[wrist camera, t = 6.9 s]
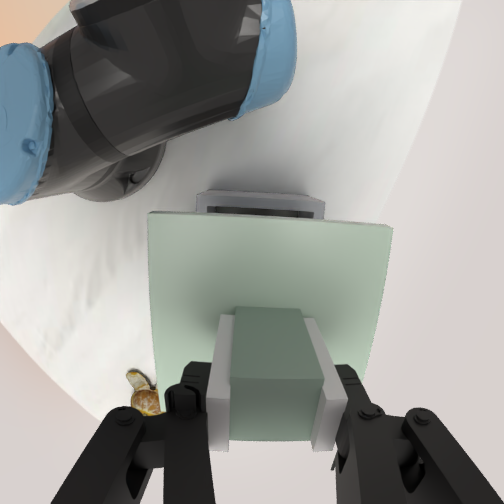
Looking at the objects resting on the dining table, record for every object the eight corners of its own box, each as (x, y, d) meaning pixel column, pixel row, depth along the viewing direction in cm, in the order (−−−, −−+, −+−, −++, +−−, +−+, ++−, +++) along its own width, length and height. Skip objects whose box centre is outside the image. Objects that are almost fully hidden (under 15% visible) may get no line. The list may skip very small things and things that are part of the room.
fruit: (180, 382, 44) (175, 398, 41) (174, 417, 47) (170, 433, 43) (126, 368, 44) (119, 383, 40) (126, 404, 46) (119, 419, 43)
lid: (169, 383, 21) (137, 484, 12) (163, 206, 18) (91, 239, 9) (341, 389, 21) (378, 486, 12) (372, 218, 18) (462, 259, 9)
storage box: (205, 285, 41) (195, 314, 32) (208, 189, 38) (196, 194, 30) (299, 289, 42) (312, 319, 33) (308, 195, 39) (325, 202, 30)
